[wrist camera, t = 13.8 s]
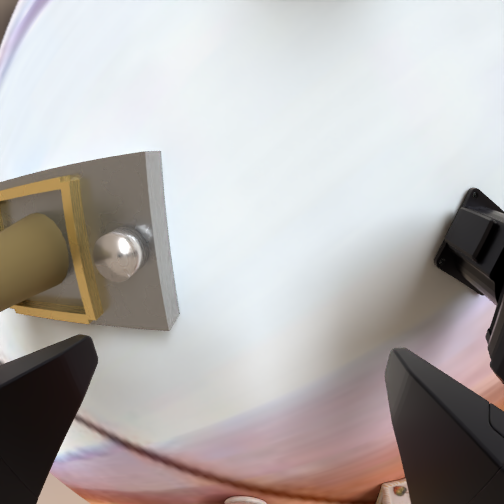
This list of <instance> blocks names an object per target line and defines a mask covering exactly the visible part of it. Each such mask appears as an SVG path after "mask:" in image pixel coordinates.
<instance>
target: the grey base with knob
mask: <svg viewBox="0 0 504 504" xmlns="http://www.w3.org/2000/svg"><path fill="white" fill-rule="evenodd" d="M33 213H40V214H44V215H46V216H47V217H49V218H50V219H51V220H53V221H54V223H55V224H56V225H57V227H58V228H59V229H60V231H61V233H62V235H63V237H64V239H65V241H66V245H67V250H68V254H69V267H68V271H67V275H66V277H65V279H64V280H63V281H62V283H60V284H58V285H57V286H55V287H52V288H50V289H48V290H46V291H44V292H41V293H39V294H37V295H35V296H33V297H30V298H28V299H26V300H24V301H22V302H20V303H18V304H15V305H13V306H11V307H10V308H12V309H15V311H16V313H19V314H24V315H30V316H36V317H42V318H48V319H54V320H61V321H68V322H75V323H83V324H99V325H108V326H117V327H127V328H138V329H150V330H163V331H169V330H170V329H171V327H172V325H173V324H174V322H175V321H176V319H177V317H178V316H179V314H180V313H179V307H178V301H177V294H176V288H175V281H174V274H173V267H172V259H171V252H170V244H169V236H168V227H167V218H166V208H165V198H164V187H163V175H162V162H161V151H145V152H138V153H132V154H125V155H119V156H113V157H107V158H102V159H96V160H91V161H86V162H81V163H76V164H71V165H67V166H62V167H58V168H53V169H49V170H45V171H41V172H37V173H33V174H29V175H25V176H21V177H18V178H14V179H10V180H7V181H3V182H0V232H1V231H2V230H4V229H6V228H7V227H9V226H11V225H12V224H14V223H16V222H17V221H19V220H21V219H22V218H24V217H26V216H27V215H29V214H33Z"/></svg>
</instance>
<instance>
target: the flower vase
mask: <svg viewBox="0 0 504 504" xmlns="http://www.w3.org/2000/svg"><path fill="white" fill-rule="evenodd" d="M224 504H267V503H266V502H265V501H263V500H261V499H258V498H255V497H249V496H234V497H230V498H228V499H226V500H225V502H224Z"/></svg>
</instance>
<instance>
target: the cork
mask: <svg viewBox="0 0 504 504" xmlns="http://www.w3.org/2000/svg"><path fill="white" fill-rule="evenodd" d="M68 267H69V254H68V250H67V245H66V241H65V239H64V237H63V235H62V233H61V231H60V229H59V228H58V227H57V225H56V224H55V223H54V221H53V220H51V219H50V218H49V217H47V216H46V215H44V214H40V213H33V214H29V215H27V216H26V217H24V218H22V219H21V220H19V221H17V222H16V223H14V224H12V225H11V226H9V227H7V228H6V229H4V230H2V231H1V232H0V312H1V311H3V310H5V309H7V308H9V307H11V306H13V305H15V304H18V303H20V302H22V301H24V300H26V299H28V298H30V297H33V296H35V295H37V294H39V293H41V292H44V291H46V290H48V289H50V288H52V287H55V286H57V285H58V284H60V283H62V281H63V280H64V279H65V277H66V275H67V271H68Z"/></svg>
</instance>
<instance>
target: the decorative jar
mask: <svg viewBox="0 0 504 504" xmlns="http://www.w3.org/2000/svg"><path fill="white" fill-rule="evenodd" d="M376 504H411V501H410V496H409V491H408V487H407V482H406V478H404V479H400V480H396V481H391V482H387V483H383V484H382V486H381V490H380V493H379V496H378V498H377V502H376Z"/></svg>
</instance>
